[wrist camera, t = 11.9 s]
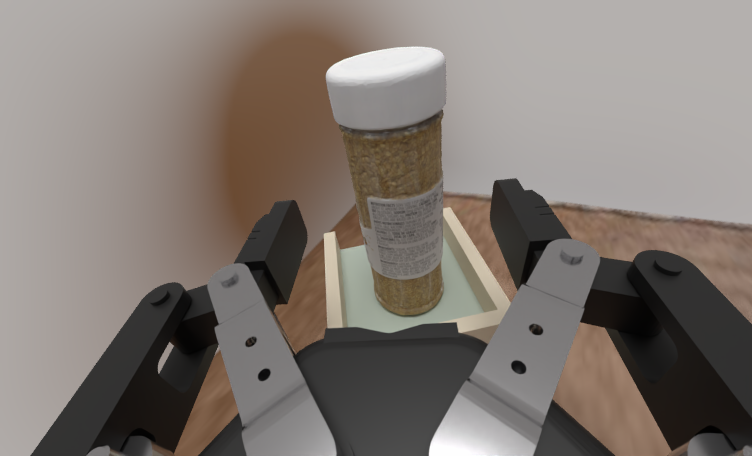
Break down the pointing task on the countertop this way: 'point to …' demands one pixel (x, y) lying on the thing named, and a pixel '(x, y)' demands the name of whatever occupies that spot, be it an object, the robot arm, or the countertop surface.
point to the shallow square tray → (457, 304)
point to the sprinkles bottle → (396, 167)
